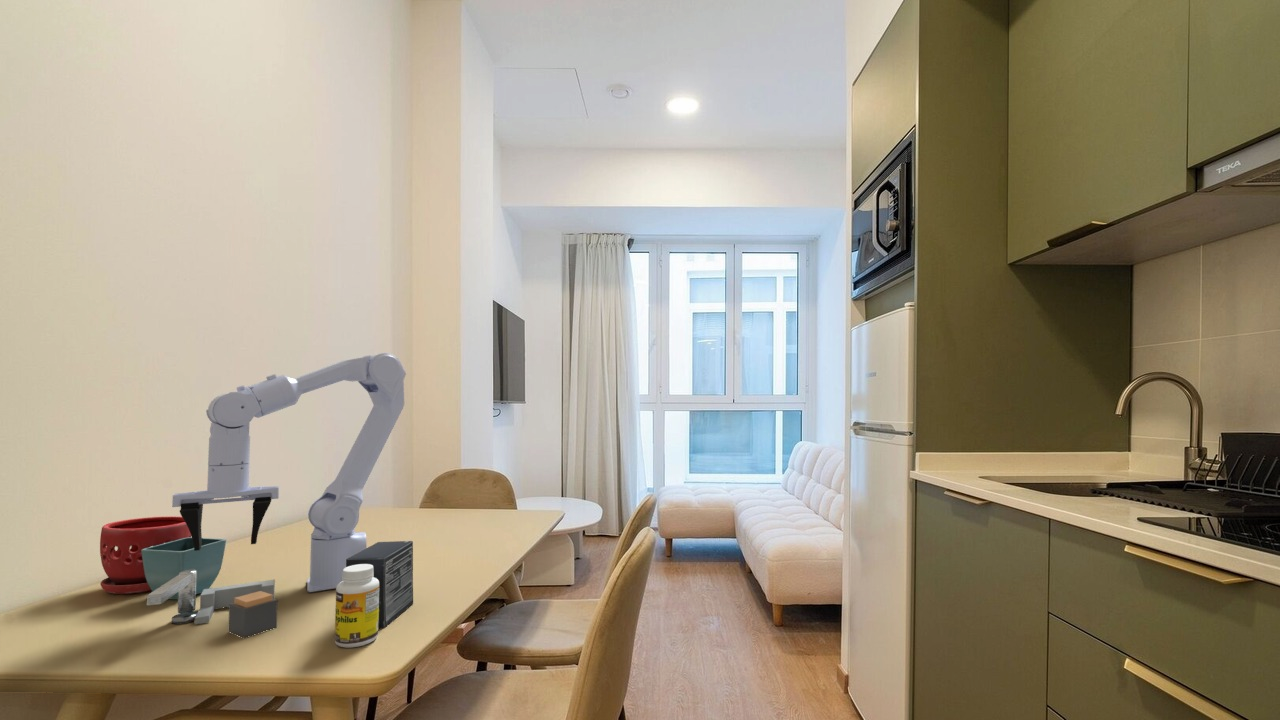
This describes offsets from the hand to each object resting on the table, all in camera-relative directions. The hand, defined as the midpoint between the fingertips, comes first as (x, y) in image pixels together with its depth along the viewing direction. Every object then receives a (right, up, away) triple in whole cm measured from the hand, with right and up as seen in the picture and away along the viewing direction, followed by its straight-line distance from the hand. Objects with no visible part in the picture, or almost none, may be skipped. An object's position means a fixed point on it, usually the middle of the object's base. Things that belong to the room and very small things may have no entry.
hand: (226, 546), depth 98 cm
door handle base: (-2, -10, -6) cm, 12 cm away
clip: (0, -8, -11) cm, 13 cm away
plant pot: (-23, -11, +11) cm, 27 cm away
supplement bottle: (+29, -9, -15) cm, 34 cm away
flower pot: (-11, -11, +5) cm, 17 cm away
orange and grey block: (+11, -9, -11) cm, 18 cm away
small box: (+28, -10, -5) cm, 30 cm away
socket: (+4, -10, -3) cm, 11 cm away
